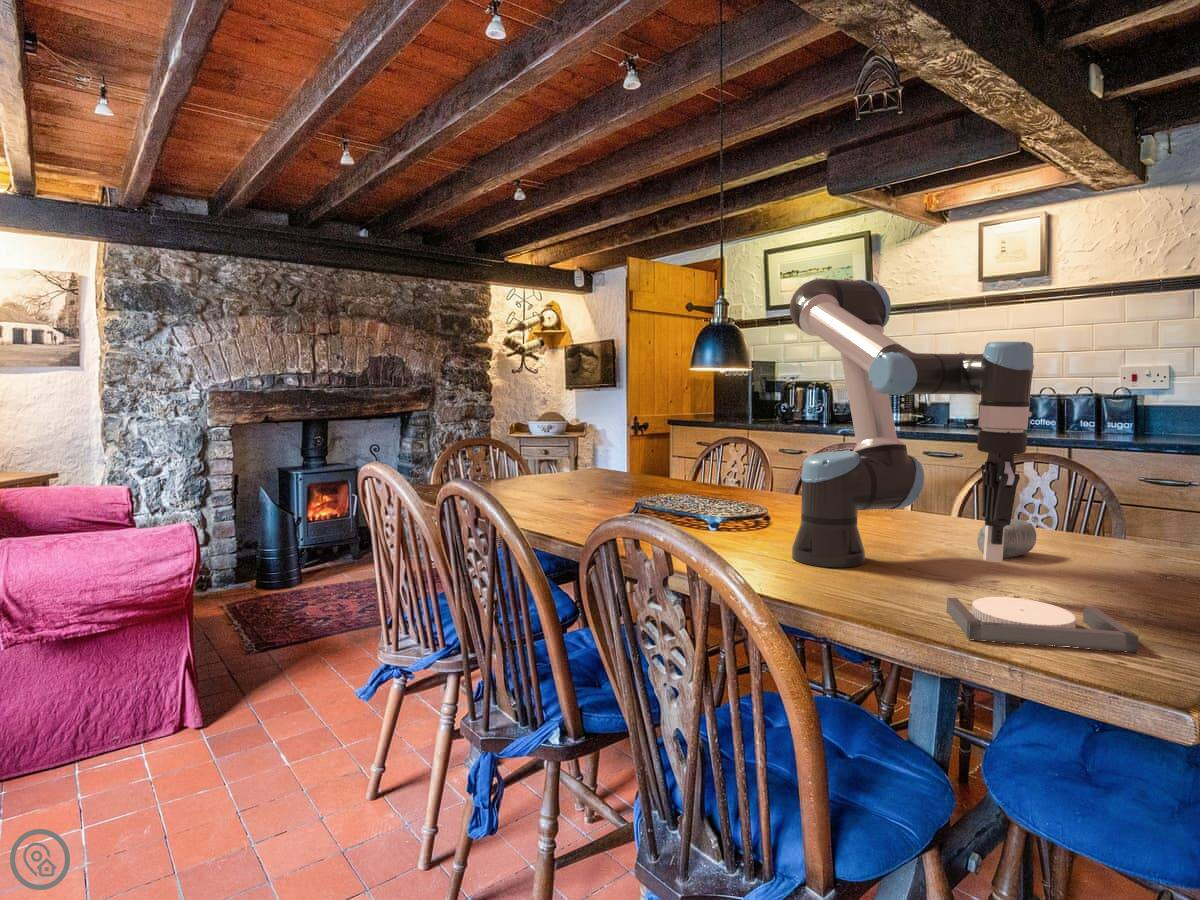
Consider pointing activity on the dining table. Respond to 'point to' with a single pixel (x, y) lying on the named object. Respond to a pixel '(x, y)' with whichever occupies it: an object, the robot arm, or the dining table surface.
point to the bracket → (1049, 631)
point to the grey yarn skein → (1013, 538)
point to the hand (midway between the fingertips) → (992, 560)
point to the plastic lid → (1021, 612)
